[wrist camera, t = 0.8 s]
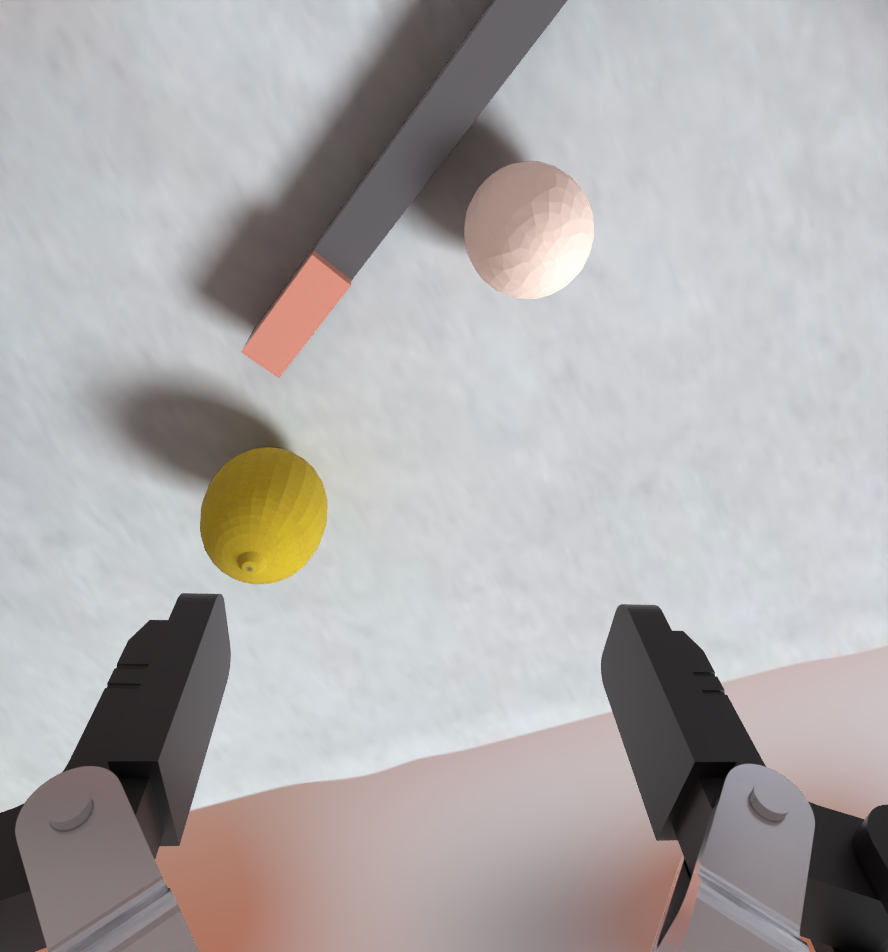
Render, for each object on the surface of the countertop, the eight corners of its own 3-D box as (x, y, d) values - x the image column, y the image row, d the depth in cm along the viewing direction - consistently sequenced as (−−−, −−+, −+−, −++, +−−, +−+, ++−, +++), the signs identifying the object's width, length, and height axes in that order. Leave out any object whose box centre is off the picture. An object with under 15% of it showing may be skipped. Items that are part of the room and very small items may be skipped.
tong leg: (627, -185, 20) (659, -222, 18) (661, -134, 21) (696, -163, 18) (253, 329, 28) (241, 352, 25) (287, 354, 29) (279, 378, 26)
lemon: (209, 426, 31) (160, 521, 24) (322, 414, 31) (305, 506, 24) (238, 517, 33) (200, 625, 27) (341, 506, 34) (330, 611, 27)
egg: (495, 296, 28) (522, 348, 23) (434, 202, 26) (448, 233, 20) (588, 232, 27) (642, 269, 22) (533, 127, 25) (577, 138, 19)
